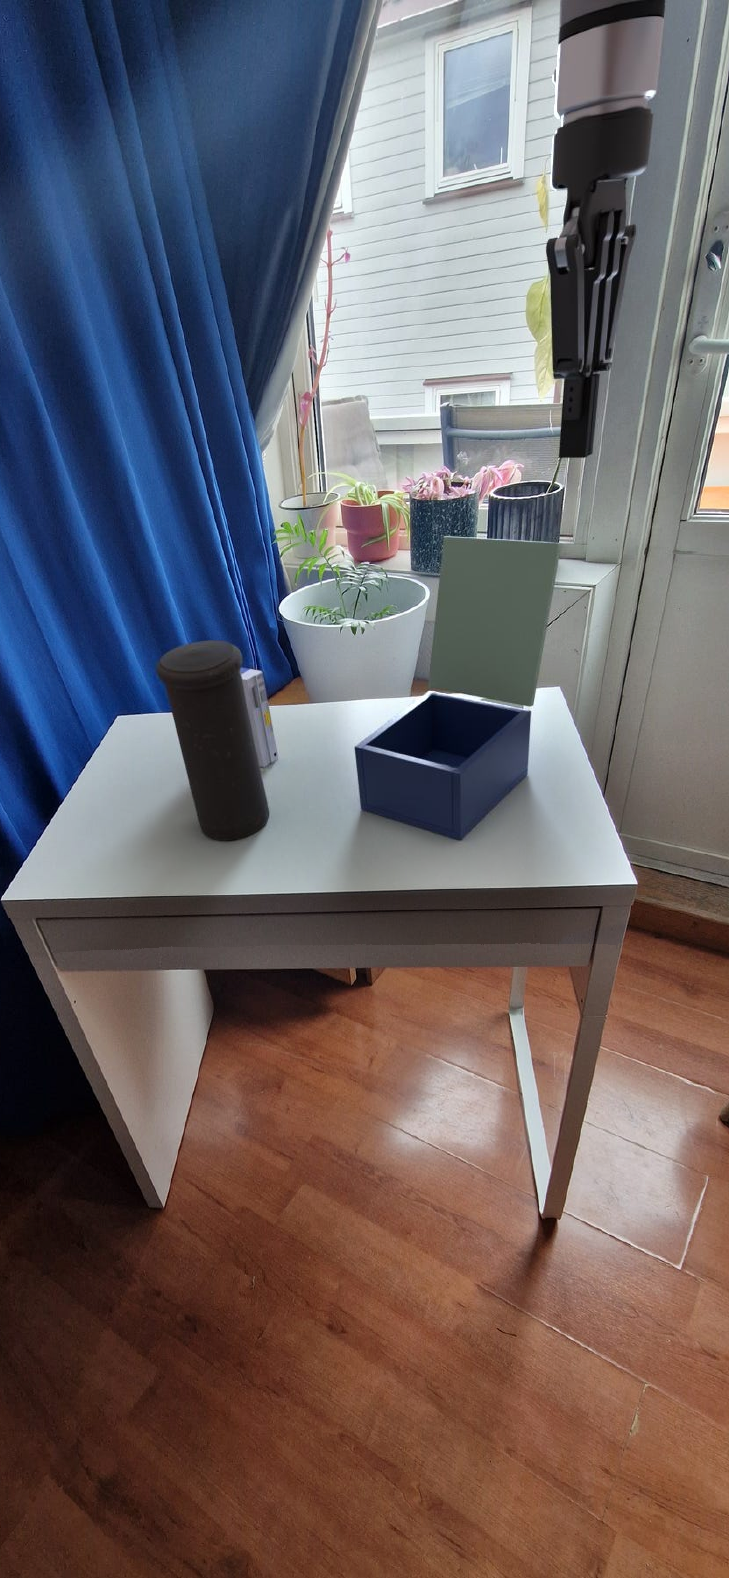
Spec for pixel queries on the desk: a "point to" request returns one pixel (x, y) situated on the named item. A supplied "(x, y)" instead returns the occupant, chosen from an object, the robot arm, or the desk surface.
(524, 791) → the desk surface
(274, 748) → the walkman
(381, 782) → the case
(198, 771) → the container
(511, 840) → the desk surface
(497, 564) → the case lid
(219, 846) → the desk surface
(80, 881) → the desk surface
